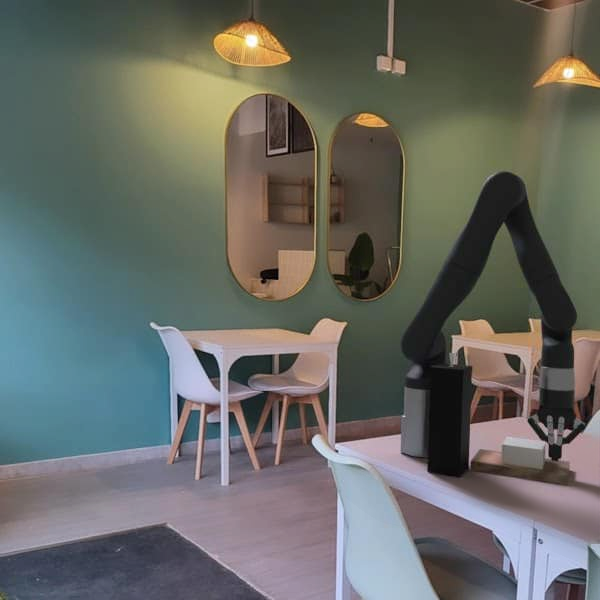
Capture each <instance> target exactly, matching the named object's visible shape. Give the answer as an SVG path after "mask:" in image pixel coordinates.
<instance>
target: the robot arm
mask: <svg viewBox="0 0 600 600" xmlns="http://www.w3.org/2000/svg"><path fill="white" fill-rule="evenodd" d="M503 224H504V225H505V227H506V229H507V231H508V233H509V236H510V239H511V242H512V244H513V247H514V253H515V255H516V259H517V262H518V265H519V267H520V270H521V272H522V274H523V277H524V279H525V281H526V284H527V286H528V288H529V289H530V292H531V293H532V294H533V296H534V297H535V299H536V302H537V304H538V307H539V309H540V311H541V313H540V326H541V327H540V328H541V341H542V342H541V343H542V345H541V347H542V348H541V357H540V358H541V360H540V361H541V362H540V364H541V365H540V371H539V388H538V389H539V391H538V393H539V394H538V408H537V410H536V413H535V414H534V415H532V416H528V418H527V419H526V422H527V423H528V424H529V425H530V427H531V429H532V430H533V431H534V433H535V434H536V435H537V436H538V438H539V439H540V441H543V442H546V444H547V445H548V449H547V452H548V455H547V456H548V459H551V460H552V461H558V460H562V459H561V458H562V457H563V455H562V454H563V445H570V444H571V443H572V442H573V441H574V440H575V439H576V438H577V437H578V436H579V435H580V434H581V433H582V432H583V431H584V430H585V429H586V423H585V422H584V421H581V420H580V419H579V418H577V413H576V411H575V393H576V392H575V388H576V375H575V347H574V344H573V340H572V339H573V327H574V326H575V325H576V323H577V320H578V312H577V308H576V307H575V305H574V303H573V301H572V299H571V297H570V295H569V293H568V292H567V290H566V289H565V286H563V283H562V281H561V277H560V274H559V272H558V271H557V268H556V266H555V263H554V262H553V259H552V258H551V255H550V253H549V251H548V248H547V247H546V244H545V243H544V241H543V238H542V237H541V234H540V232H539V229H538V227H537V225H536V222H535V220H534V217H533V214H532V210H531V207H530V203H529V198H528V194H527V188H526V184H525V182H524V181H523V179H522V178H521V177H520V176H519V175H517V174H515V173H512V172H510V171H506V170H504V171H503V170H502V171H497V172H495V173H493V174H491V175H490V176H488V177H487V179H486V180H485V181H484V183H483V184H482V187H481V190H480V192H479V194H478V197H477V200H476V202H475V205H474V207H473V209H472V212H471V214H470V216H469V218H468V221H467V223H466V224H465V226H464V227H463V229H462V230H461V232H460V233H459V235H458V237H457V239H456V240H455V242H454V244H453V246H452V247H451V249H450V251H449V253H448V254H447V256H446V258H445V260H444V261H443V264H442V265H441V268H440V269H439V272H438V273H437V276H436V277H435V280H434V281H433V283H432V285H431V287H430V288H429V291H428V293H427V295H426V297H425V299H424V301H423V303H422V305H420V306H421V307H420V308H419V309H418V311H417V312H416V314H415V316H414V317H413V319H412V320H411V321H410V323H409V324H408V326H407V327H406V329H405V331H404V332H403V334H402V337H401V340H400V348H401V352H402V355H403V356H404V357H405V358H406V359H407V360H409V361H410V362H411V366H410V369H409V370H408V372H407V373H406V374H405V377H404V397H403V398H404V402H403V405H404V407H403V408H404V409H403V415H401V419H400V421H401V422H400V424H401V425H400V453H402V454H406V455H408V456H411V457H416V458H428V431H429V398H430V366H433V365H436V364H439V363H445V364H446V354H447V341H446V337H445V334H444V332H443V331H442V329H443V327H444V325H445V323H446V322H447V320H448V318H449V317H450V316H451V315H452V314H453V312H454V311H455V310H456V309H457V308H458V307H459V306H461V304H462V303H463V302H464V301H465V300H466V298H467V297H468V296H469V295H470V294H471V293H472V291H473V289H474V288H475V287H476V285H477V283H478V281H479V279H480V277H481V275H482V273H483V272H484V269H485V267H486V265H487V262H488V260H489V256H490V254H491V251H492V246H493V243H494V241H495V239H496V236H497V234H498V232H499V231H500V229H501V228H502V226H503ZM540 422H541V423H542V425H543V426H544V427H545V428H546V429H547V434H546V433H545V431H544V430H543V428H542V427H541V425H540ZM573 423H574V424H573ZM571 425H573V430H571V432H569V433H568V435H566V436H565V437H564V431H566V430H567V429H568V428H570V426H571ZM555 430H557V431H556V432H557V433H556V434H557V435H556V437H555Z"/></svg>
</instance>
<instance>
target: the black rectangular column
mask: <svg viewBox="0 0 600 600" xmlns="http://www.w3.org/2000/svg"><path fill="white" fill-rule="evenodd" d="M455 354H456V353H455V352H454V353H453V352H449V363H446V362H445V363H439V364H436V365H433V366H430V398H429V431H428V457H427V468H426V469H427V470H426V471H427V472H429V473H433V474H434V473H435V474H440V475H444V476H450V477H454V478H457V477H458V478H461V477H462V476H463V475H464V473H466V472H467V471H468V470H469V468H470V467H469V466H470V444H471V442H470V441H471V438H470V436H471V412H472V411H471V410H472V409H471V407H472V375H473V365H465V364H456V363H455V358H456V357H455V356H456V355H455Z"/></svg>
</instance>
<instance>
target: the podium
mask: <svg viewBox="0 0 600 600" xmlns="http://www.w3.org/2000/svg"><path fill="white" fill-rule="evenodd" d="M501 460H502V451H496V450H488V449H483V448H482V449H481V448H479V449H478V450H477V452H476V453H475V455H474V456H473V457H472V459H471V460H470V470H471V471H478V472H484V473H491V474H497V475H503V476H511V477H515V478H522V479H529V480H536V481H543V482H548V483H554V484H561V485H565V486H566V485H568V482H569V476H570V475H569V474H570V461H567V460H562V459H558V461H552V460H551V458H546V457H545V463H544V466H543V469H536V468H530V467H523V466H516V465H510V464H503V463H501Z"/></svg>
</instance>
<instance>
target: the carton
mask: <svg viewBox="0 0 600 600" xmlns="http://www.w3.org/2000/svg"><path fill="white" fill-rule="evenodd" d="M546 445H547V442H545V441H542V440H536V439H535V440H534V439H528V438H520V437H519V438H517V437H510V436H506V437H505V439H504V441H503V442H502V444H501V452H502V460H501V463H503V464H510V465H516V466H523V467H530V468H536V469H543V466H544V463H545V458H546Z"/></svg>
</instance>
